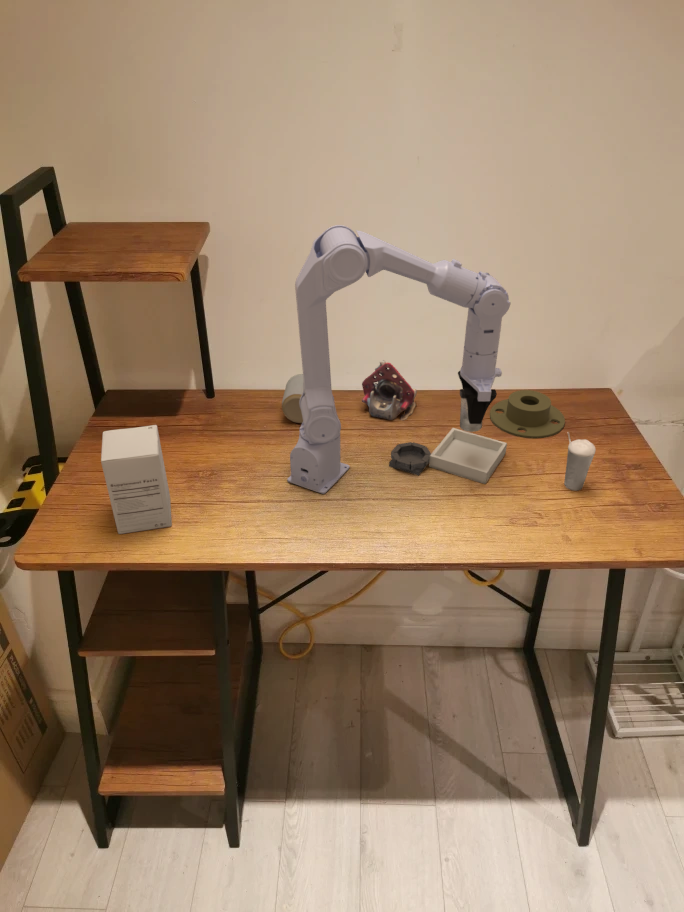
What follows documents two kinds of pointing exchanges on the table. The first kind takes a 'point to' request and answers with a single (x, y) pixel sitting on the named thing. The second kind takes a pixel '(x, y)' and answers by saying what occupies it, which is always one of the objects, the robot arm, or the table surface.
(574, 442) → the milkshake
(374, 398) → the brake caliper
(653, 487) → the table surface
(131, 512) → the supplement box
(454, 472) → the bin
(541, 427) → the flange
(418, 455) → the stud mount
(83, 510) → the table surface
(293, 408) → the ceramic mug
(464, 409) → the silver cylinder with bar
